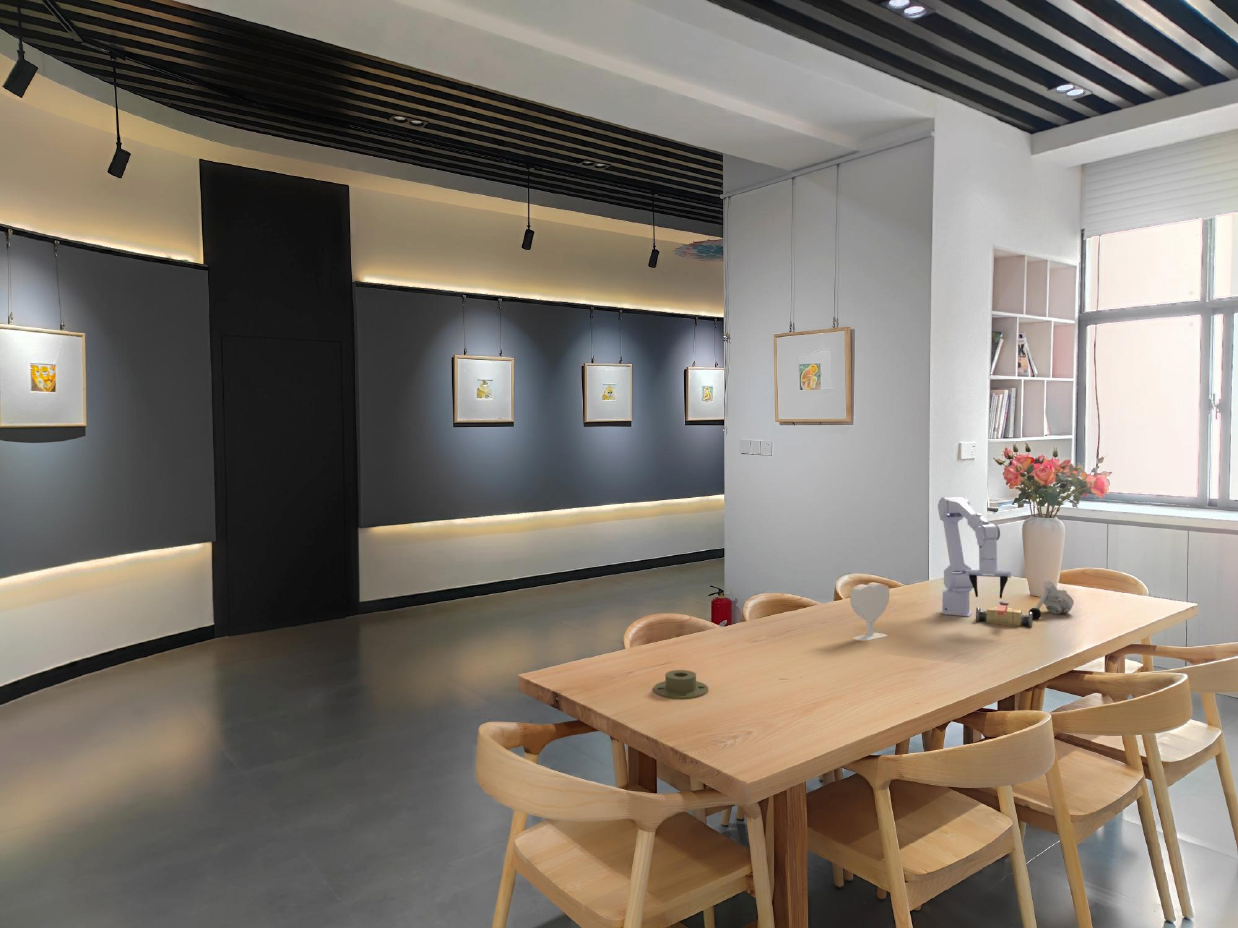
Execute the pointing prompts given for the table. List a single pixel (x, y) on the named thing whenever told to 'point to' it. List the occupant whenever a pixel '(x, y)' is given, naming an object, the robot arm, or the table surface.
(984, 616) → the valve pipe
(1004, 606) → the lever
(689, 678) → the flange
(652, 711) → the table surface
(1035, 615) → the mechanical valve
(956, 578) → the robot arm
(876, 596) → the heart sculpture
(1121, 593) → the table surface
